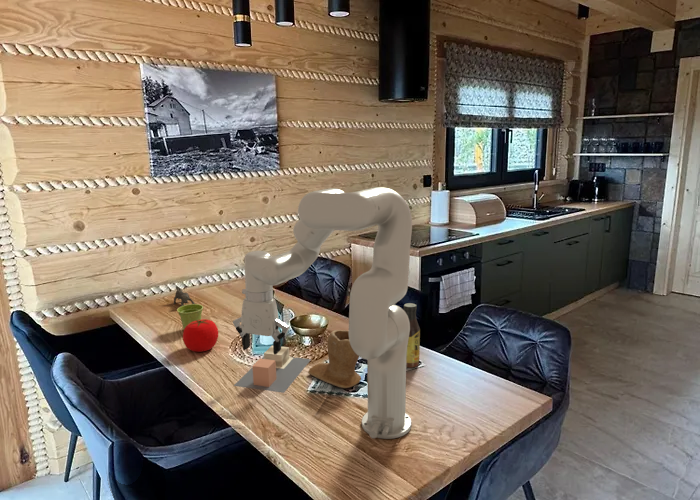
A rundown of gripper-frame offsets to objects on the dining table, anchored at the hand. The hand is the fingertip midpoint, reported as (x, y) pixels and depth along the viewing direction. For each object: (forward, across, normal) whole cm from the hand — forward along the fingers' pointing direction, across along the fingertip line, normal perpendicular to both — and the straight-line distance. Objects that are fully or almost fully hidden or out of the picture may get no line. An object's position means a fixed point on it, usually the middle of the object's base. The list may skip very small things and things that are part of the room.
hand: (261, 350), depth 145 cm
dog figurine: (+13, -65, +56) cm, 87 cm away
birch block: (+10, -1, +13) cm, 16 cm away
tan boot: (+11, +21, +9) cm, 25 cm away
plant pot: (+12, -45, +32) cm, 57 cm away
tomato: (+12, -32, +18) cm, 38 cm away
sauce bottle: (+10, +40, +24) cm, 48 cm away
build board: (+11, +1, +6) cm, 13 cm away
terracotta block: (+10, +1, 0) cm, 10 cm away
